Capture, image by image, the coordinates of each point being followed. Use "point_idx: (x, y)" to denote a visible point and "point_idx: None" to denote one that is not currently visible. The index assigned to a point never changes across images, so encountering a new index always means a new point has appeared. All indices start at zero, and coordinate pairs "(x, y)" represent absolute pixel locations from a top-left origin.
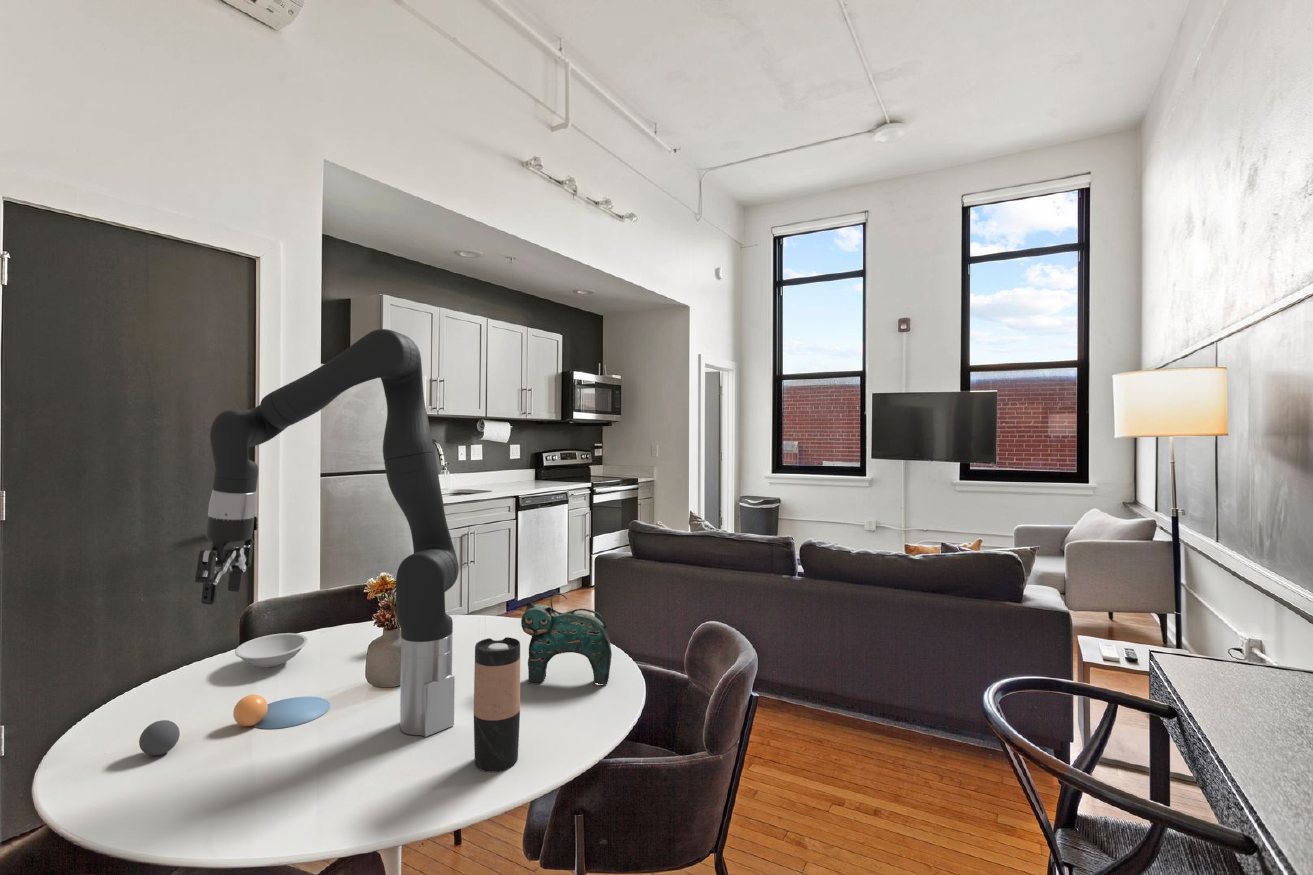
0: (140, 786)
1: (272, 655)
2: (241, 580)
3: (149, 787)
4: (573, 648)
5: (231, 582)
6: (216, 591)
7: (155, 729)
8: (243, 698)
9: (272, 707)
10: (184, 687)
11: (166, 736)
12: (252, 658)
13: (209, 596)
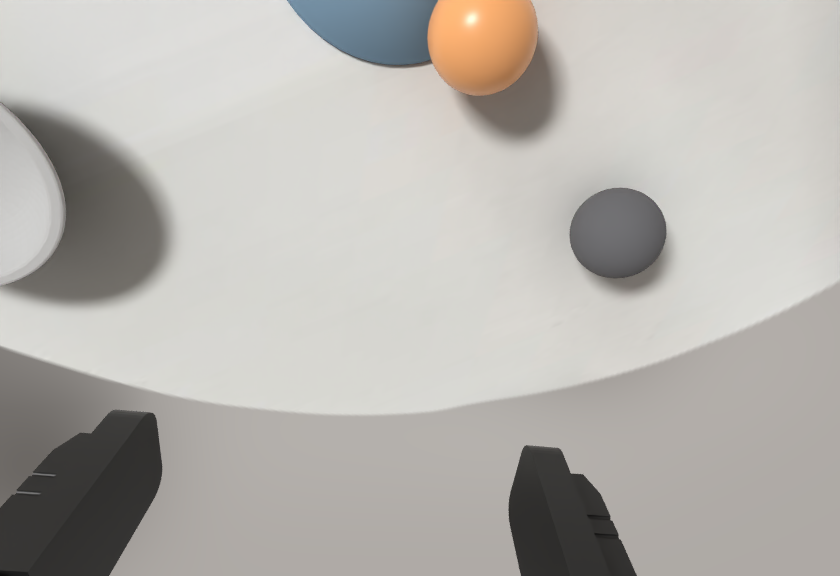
0: (781, 180)
1: (16, 134)
2: (69, 484)
3: (800, 157)
4: None
5: (121, 529)
6: (570, 530)
7: (659, 247)
8: (494, 67)
9: (350, 3)
10: (185, 327)
11: (659, 211)
12: (62, 199)
13: (613, 523)
